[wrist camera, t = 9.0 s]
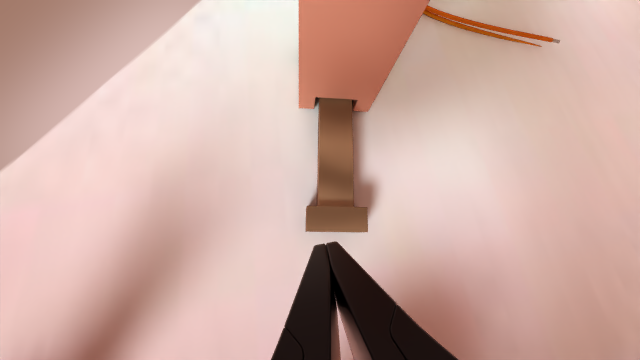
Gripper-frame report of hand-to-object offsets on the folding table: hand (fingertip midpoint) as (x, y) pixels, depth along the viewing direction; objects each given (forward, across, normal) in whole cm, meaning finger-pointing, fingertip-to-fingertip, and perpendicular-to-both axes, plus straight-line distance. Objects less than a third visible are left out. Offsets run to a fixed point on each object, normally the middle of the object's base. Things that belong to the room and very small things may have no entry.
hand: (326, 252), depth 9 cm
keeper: (+20, -4, -3) cm, 20 cm away
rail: (+17, -3, +1) cm, 17 cm away
